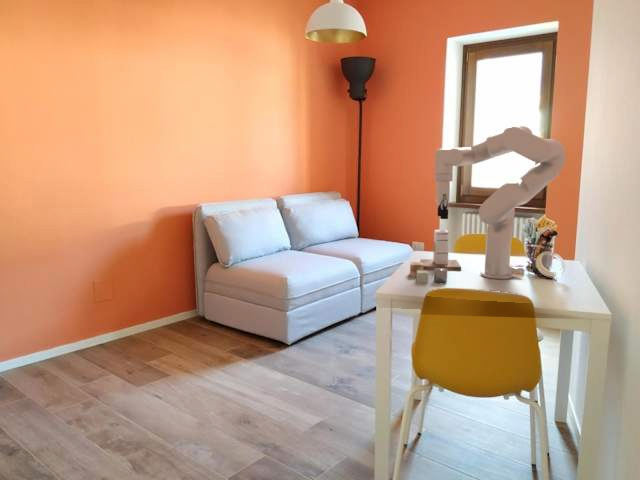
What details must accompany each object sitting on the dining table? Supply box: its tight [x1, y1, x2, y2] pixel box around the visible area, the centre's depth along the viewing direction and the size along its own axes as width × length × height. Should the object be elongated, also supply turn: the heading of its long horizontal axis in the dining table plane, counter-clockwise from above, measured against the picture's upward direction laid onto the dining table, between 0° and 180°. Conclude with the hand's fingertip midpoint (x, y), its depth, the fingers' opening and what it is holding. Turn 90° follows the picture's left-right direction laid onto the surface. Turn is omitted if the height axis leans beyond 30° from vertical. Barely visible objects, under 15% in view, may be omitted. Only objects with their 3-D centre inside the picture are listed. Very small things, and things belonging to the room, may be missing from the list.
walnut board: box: [420, 258, 462, 271], centre depth 230 cm, size 16×14×2 cm
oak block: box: [409, 261, 424, 278], centre depth 214 cm, size 5×5×5 cm
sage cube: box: [416, 270, 429, 284], centre depth 204 cm, size 4×4×4 cm
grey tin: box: [433, 268, 448, 284], centre depth 203 cm, size 5×5×5 cm
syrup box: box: [432, 229, 450, 264], centre depth 228 cm, size 6×6×14 cm
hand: (442, 217), depth 226 cm, fingers open, 9 cm apart
